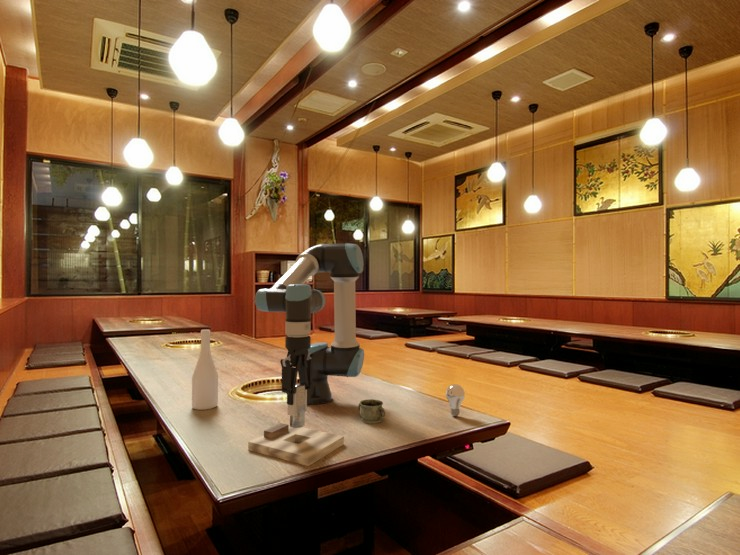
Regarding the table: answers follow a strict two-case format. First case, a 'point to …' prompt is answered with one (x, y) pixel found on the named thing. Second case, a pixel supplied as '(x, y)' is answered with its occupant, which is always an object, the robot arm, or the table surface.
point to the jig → (282, 444)
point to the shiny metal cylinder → (299, 408)
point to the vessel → (371, 411)
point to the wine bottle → (205, 377)
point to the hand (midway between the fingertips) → (297, 412)
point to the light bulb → (455, 398)
